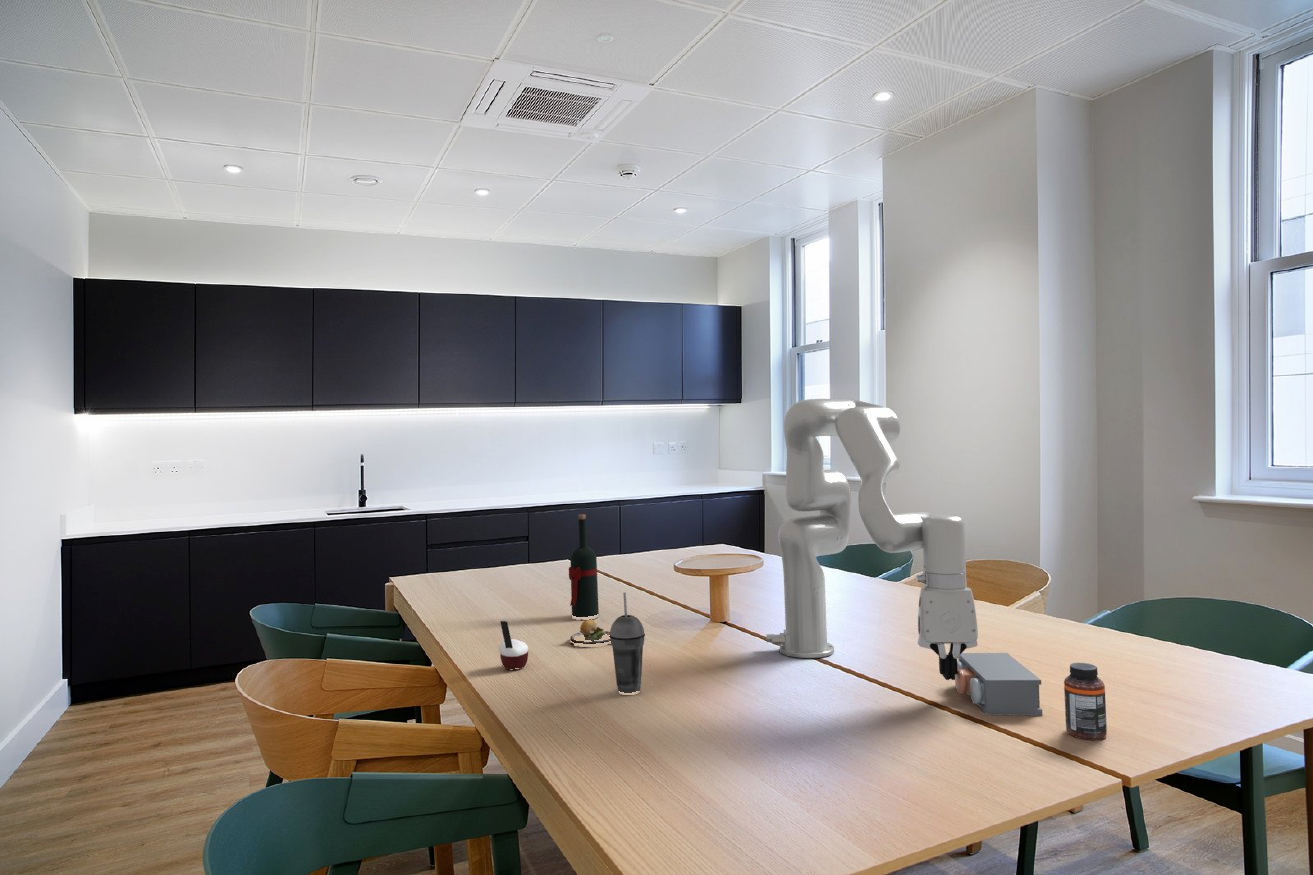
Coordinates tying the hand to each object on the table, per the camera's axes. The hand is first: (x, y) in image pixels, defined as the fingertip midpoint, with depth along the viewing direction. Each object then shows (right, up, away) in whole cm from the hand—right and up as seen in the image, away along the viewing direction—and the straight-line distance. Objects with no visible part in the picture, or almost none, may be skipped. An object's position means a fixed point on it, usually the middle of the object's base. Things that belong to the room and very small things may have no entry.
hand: (948, 677), depth 150 cm
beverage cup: (-61, -6, +10) cm, 62 cm away
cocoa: (-88, -7, +30) cm, 93 cm away
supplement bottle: (+15, -4, -20) cm, 25 cm away
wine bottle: (-77, -7, +80) cm, 111 cm away
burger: (-71, -7, +53) cm, 89 cm away
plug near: (+7, -3, -6) cm, 10 cm away
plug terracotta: (+6, -3, -1) cm, 7 cm away
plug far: (+8, -3, +5) cm, 10 cm away
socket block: (+8, -4, -1) cm, 9 cm away
